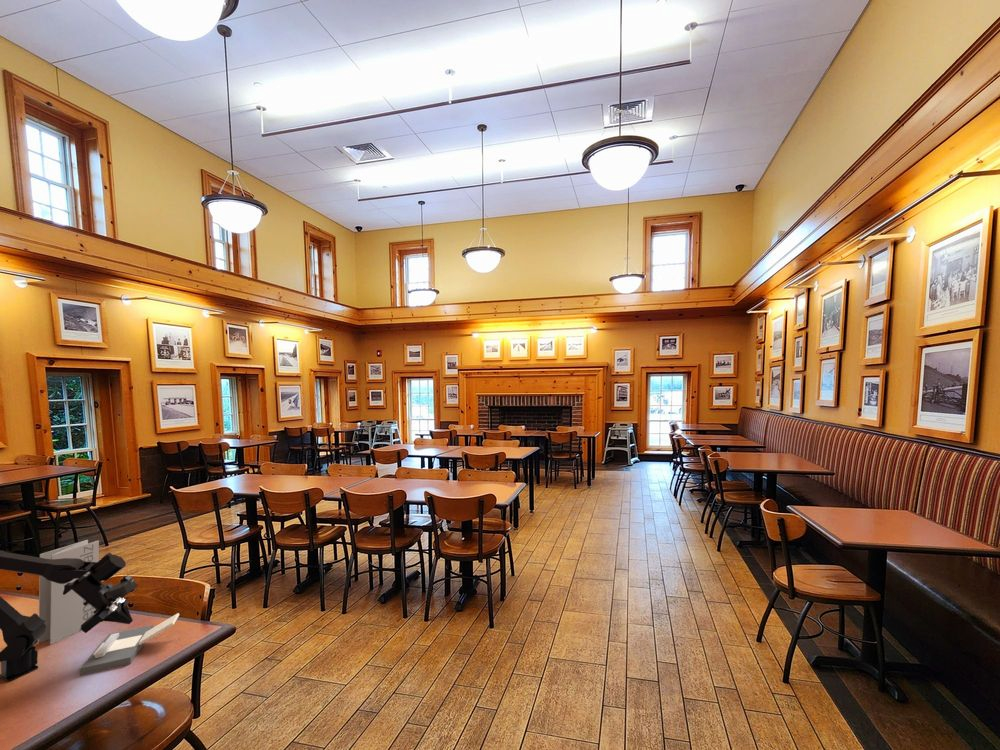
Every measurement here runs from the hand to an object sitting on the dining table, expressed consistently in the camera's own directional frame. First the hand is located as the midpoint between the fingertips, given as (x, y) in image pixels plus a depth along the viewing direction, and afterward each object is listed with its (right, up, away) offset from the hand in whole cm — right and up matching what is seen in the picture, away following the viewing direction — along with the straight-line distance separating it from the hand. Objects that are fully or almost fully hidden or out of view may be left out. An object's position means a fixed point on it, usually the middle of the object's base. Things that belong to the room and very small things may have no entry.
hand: (130, 622), depth 140 cm
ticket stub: (+3, -7, +1) cm, 7 cm away
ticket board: (-3, -9, -1) cm, 9 cm away
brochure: (-31, -10, +11) cm, 35 cm away
